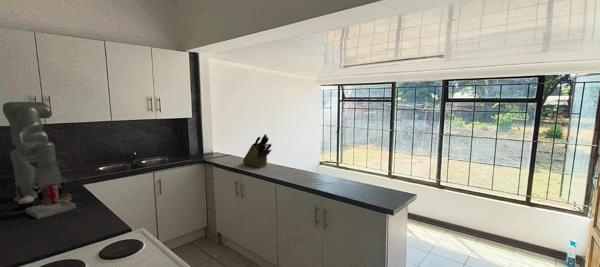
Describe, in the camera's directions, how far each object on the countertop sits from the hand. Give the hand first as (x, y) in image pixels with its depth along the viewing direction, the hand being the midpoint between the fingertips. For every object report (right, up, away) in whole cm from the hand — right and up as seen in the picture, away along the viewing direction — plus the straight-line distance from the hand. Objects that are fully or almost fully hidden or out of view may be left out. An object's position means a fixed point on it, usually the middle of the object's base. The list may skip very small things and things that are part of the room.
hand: (50, 197), depth 146 cm
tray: (0, -8, +1) cm, 8 cm away
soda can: (0, -4, 0) cm, 4 cm away
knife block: (+95, +4, +112) cm, 147 cm away
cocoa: (-18, -8, +5) cm, 20 cm away
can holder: (-9, -6, +15) cm, 18 cm away
